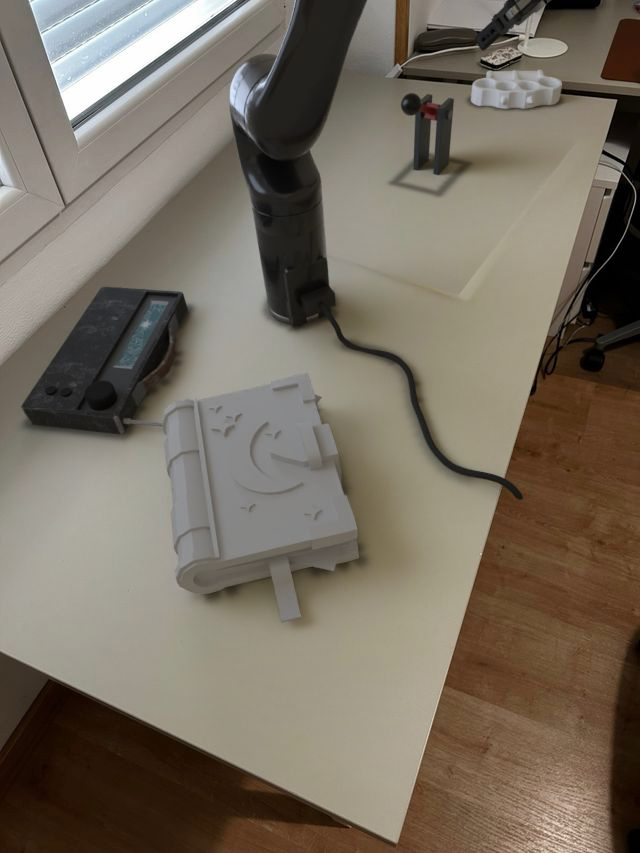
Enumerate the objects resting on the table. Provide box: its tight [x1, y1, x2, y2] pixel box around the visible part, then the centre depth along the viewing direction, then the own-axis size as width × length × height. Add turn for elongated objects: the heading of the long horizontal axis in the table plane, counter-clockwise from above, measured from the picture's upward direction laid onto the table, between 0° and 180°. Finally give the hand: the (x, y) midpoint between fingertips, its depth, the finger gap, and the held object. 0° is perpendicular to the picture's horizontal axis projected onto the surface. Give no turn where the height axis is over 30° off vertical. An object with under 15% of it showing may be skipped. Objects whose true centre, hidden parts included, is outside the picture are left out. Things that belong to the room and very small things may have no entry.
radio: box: [20, 286, 189, 435], centre depth 88 cm, size 25×4×20 cm
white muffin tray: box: [470, 69, 563, 110], centre depth 136 cm, size 3×18×15 cm
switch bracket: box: [412, 93, 455, 176], centre depth 114 cm, size 12×9×13 cm
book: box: [161, 372, 360, 623], centre depth 69 cm, size 19×28×8 cm
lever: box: [400, 92, 441, 122], centre depth 106 cm, size 13×3×3 cm, turn 147°
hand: (480, 43), depth 90 cm, fingers closed
